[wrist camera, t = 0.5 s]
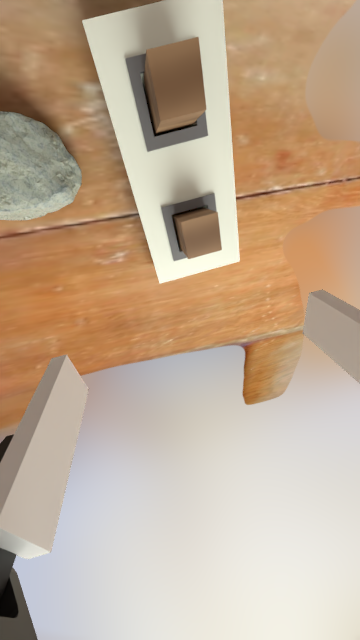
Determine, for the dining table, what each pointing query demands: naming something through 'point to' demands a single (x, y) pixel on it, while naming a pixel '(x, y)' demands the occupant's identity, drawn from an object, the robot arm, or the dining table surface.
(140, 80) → the socket block
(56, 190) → the decorative stone
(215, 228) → the peg
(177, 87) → the peg
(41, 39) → the dining table surface
